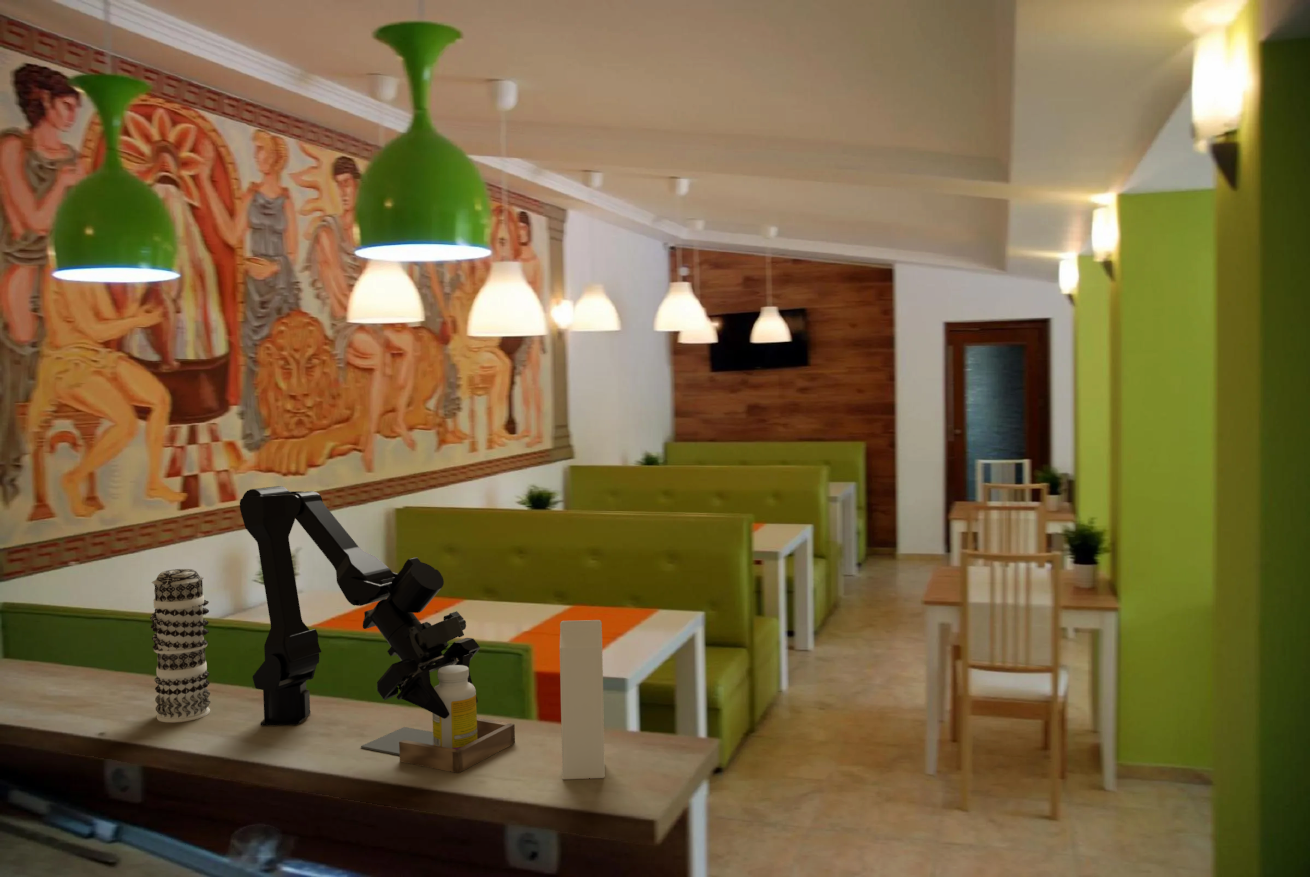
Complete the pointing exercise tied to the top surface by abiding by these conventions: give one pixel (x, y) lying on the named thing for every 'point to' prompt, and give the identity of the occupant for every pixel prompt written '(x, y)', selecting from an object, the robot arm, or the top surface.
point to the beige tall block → (582, 699)
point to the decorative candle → (180, 646)
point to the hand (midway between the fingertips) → (461, 710)
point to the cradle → (456, 760)
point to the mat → (392, 740)
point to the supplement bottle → (455, 708)
